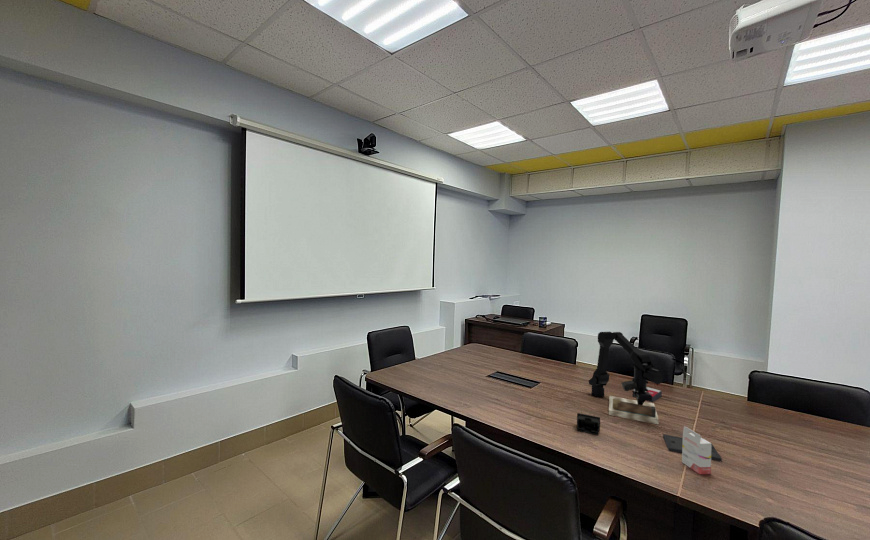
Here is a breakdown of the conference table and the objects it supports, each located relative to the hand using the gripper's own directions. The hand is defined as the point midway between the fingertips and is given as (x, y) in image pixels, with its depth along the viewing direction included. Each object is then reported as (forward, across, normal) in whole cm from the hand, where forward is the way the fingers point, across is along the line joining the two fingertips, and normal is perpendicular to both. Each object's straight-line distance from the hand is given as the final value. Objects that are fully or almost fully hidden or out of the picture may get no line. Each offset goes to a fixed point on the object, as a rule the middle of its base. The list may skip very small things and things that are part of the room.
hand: (639, 407), depth 179 cm
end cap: (+4, +26, -29) cm, 39 cm away
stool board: (+5, -5, -2) cm, 7 cm away
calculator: (+6, -32, +13) cm, 35 cm away
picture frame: (+5, +30, +11) cm, 33 cm away
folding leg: (+2, +2, -4) cm, 5 cm away
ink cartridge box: (+4, +47, +6) cm, 47 cm away
